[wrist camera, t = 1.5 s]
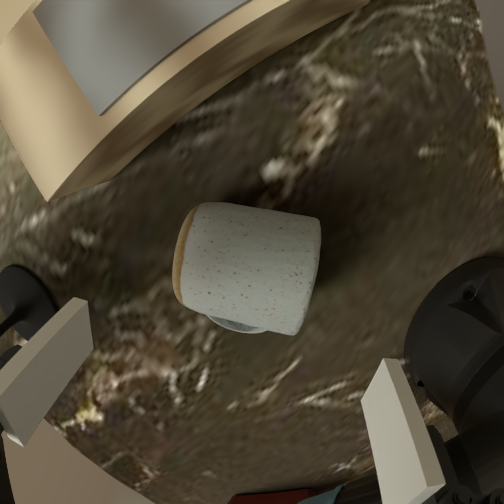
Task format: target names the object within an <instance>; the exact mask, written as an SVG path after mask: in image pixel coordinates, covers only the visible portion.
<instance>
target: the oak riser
mask: <svg viewBox="0 0 504 504" xmlns="http://www.w3.org/2000/svg"><path fill="white" fill-rule="evenodd" d="M369 1H370V0H36V1H35V2H34V3H33V4H32V5H31V6H30V7H29V9H28V10H27V11H26V12H25V13H24V14H23V16H22V17H21V18H20V19H19V21H18V22H17V23H16V24H15V26H14V27H13V28H12V29H11V31H10V32H9V34H8V35H7V36H6V38H5V39H4V40H3V42H2V43H1V44H0V119H1V121H2V123H3V125H4V127H5V129H6V131H7V133H8V135H9V137H10V139H11V141H12V143H13V145H14V147H15V148H16V150H17V152H18V154H19V156H20V158H21V159H22V161H23V163H24V165H25V167H26V168H27V170H28V172H29V173H30V175H31V177H32V179H33V180H34V182H35V184H36V185H37V187H38V189H39V190H40V192H41V193H42V195H43V197H44V198H45V200H46V201H47V202H49V201H51V200H54V199H57V198H60V197H62V196H65V195H68V194H71V193H74V192H77V191H79V190H82V189H85V188H88V187H91V186H94V185H97V184H101V183H104V182H107V181H110V180H111V179H112V178H113V177H114V176H115V175H117V174H118V173H119V172H120V171H121V170H122V169H123V168H124V167H125V166H126V165H127V164H128V163H129V162H130V161H132V160H133V159H134V158H135V157H136V156H137V155H138V154H139V153H140V152H142V151H143V150H144V149H145V148H146V147H147V146H148V145H149V144H151V143H152V142H153V141H154V140H155V139H156V138H158V137H159V136H160V135H161V134H162V133H164V132H165V131H166V130H167V129H168V128H170V127H171V126H172V125H173V124H175V123H176V122H177V121H178V120H180V119H181V118H182V117H183V116H185V115H186V114H187V113H188V112H190V111H191V110H192V109H194V108H195V107H196V106H198V105H199V104H200V103H202V102H203V101H204V100H206V99H207V98H208V97H210V96H211V95H212V94H214V93H215V92H216V91H218V90H219V89H221V88H222V87H224V86H225V85H226V84H228V83H229V82H231V81H232V80H234V79H235V78H237V77H238V76H239V75H241V74H242V73H244V72H245V71H247V70H248V69H250V68H252V67H253V66H255V65H256V64H258V63H259V62H261V61H262V60H264V59H266V58H267V57H269V56H271V55H272V54H274V53H275V52H277V51H279V50H280V49H282V48H284V47H286V46H287V45H289V44H291V43H292V42H294V41H296V40H298V39H299V38H301V37H303V36H305V35H307V34H309V33H310V32H312V31H314V30H316V29H318V28H320V27H322V26H324V25H326V24H328V23H329V22H331V21H333V20H335V19H338V18H340V17H342V16H344V15H346V14H348V13H350V12H352V11H354V10H357V9H359V8H361V7H363V6H365V5H367V4H368V3H369Z"/></svg>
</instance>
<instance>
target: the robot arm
mask: <svg viewBox="0 0 504 504" xmlns="http://www.w3.org/2000/svg"><path fill="white" fill-rule="evenodd" d="M93 349H94V348H93V342H92V335H91V327H90V319H89V310H88V301H86V300H82V299H79V298H76V297H73V298H72V299H71V300H70V301H69V302H68V303H67V304H66V305H65V306H64V307H63V308H62V309H61V310H59V311H58V312H57V313H56V314H55V315H54V316H53V317H52V318H51V319H50V320H49V321H48V322H47V323H46V324H45V325H44V326H43V327H42V328H41V329H40V330H39V331H38V332H37V333H36V334H35V335H34V336H33V337H32V338H31V339H30V340H29V341H28V342H27V343H26V344H25V345H24V346H23V347H22V346H20V345H16V346H14V347H12V348H10V349H8V350H7V351H6V352H5V353H4V354H3V355H2V356H1V357H0V504H15V501H14V498H13V493H12V489H11V484H10V479H9V475H8V469H7V464H6V458H5V451H4V444H3V439H2V436H1V433H2V432H3V430H5V432H6V433H7V435H8V437H9V438H10V439H12V440H13V441H15V442H16V443H18V444H20V445H21V446H23V447H25V445H26V443H27V442H28V440H29V439H30V437H31V436H32V434H33V433H34V431H35V430H36V428H37V427H38V425H39V424H40V422H41V421H42V419H43V418H44V416H45V415H46V414H47V412H48V411H49V409H50V408H51V406H52V405H53V403H54V402H55V401H56V399H57V398H58V396H59V395H60V393H61V392H62V391H63V389H64V388H65V386H66V385H67V384H68V382H69V381H70V380H71V378H72V377H73V375H74V374H75V373H76V371H77V370H78V369H79V367H80V366H81V365H82V363H83V362H84V361H85V359H86V358H87V357H88V355H89V354H90V353H91V351H92V350H93ZM404 359H405V364H406V367H407V369H408V372H409V374H410V376H411V378H412V381H413V383H414V384H415V386H416V387H417V389H418V390H419V391H420V392H421V393H422V394H423V395H425V396H426V397H427V398H428V399H429V400H430V401H431V402H432V403H434V404H435V405H436V406H437V407H438V408H439V409H440V410H442V411H443V412H444V413H445V414H446V415H447V416H448V417H450V418H451V419H452V421H453V423H454V425H455V427H456V429H457V432H458V434H459V435H457V436H455V437H454V438H452V439H450V440H448V441H447V442H445V443H444V441H443V439H442V436H441V434H440V433H439V432H438V431H437V429H436V428H435V427H434V426H433V425H429V426H425V423H424V420H423V418H422V415H421V413H420V410H419V408H418V405H417V403H416V400H415V398H414V395H413V393H412V391H411V388H410V386H409V384H408V381H407V379H406V377H405V374H404V372H403V370H402V367H401V365H400V363H399V361H398V359H388V358H383V360H382V362H381V364H380V366H379V368H378V370H377V372H376V374H375V375H374V377H373V379H372V381H371V383H370V385H369V387H368V389H367V390H366V392H365V394H364V396H363V398H362V399H361V403H362V407H363V412H364V416H365V420H366V424H367V429H368V433H369V438H370V442H371V447H372V452H373V456H374V461H375V466H376V471H377V474H375V475H373V476H370V477H368V478H365V479H362V480H359V481H357V482H354V483H351V484H348V485H347V484H342V485H340V486H337V487H336V488H335V489H334V490H331V491H328V492H326V493H323V494H320V495H317V496H314V497H311V498H308V499H305V500H303V501H300V502H299V503H297V504H504V259H501V258H495V257H486V258H480V259H477V260H474V261H471V262H469V263H466V264H464V265H463V266H461V267H459V268H457V269H456V270H454V271H453V272H452V273H450V274H449V275H448V276H446V277H445V278H444V279H443V280H442V281H441V282H440V283H439V284H438V285H437V286H436V287H435V288H434V289H433V290H432V291H431V292H430V293H429V295H428V296H427V297H426V298H425V300H424V301H423V302H422V304H421V305H420V307H419V309H418V310H417V312H416V314H415V315H414V317H413V319H412V322H411V324H410V326H409V329H408V332H407V335H406V339H405V345H404Z"/></svg>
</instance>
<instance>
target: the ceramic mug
mask: <svg viewBox="0 0 504 504" xmlns="http://www.w3.org/2000/svg"><path fill="white" fill-rule="evenodd" d="M320 245H321V227H320V221H319V220H318V219H317V218H314V217H309V216H303V215H297V214H291V213H286V212H280V211H275V210H269V209H262V208H255V207H249V206H243V205H237V204H232V203H225V202H205V203H200V204H199V205H197V206H195V207H194V208H193V209H192V210H191V211H190V212H189V214H188V215H187V217H186V219H185V221H184V223H183V225H182V227H181V230H180V233H179V237H178V240H177V244H176V248H175V253H174V260H173V269H172V280H173V288H174V292H175V295H176V297H177V299H178V301H179V302H180V303H181V304H183V305H184V306H186V307H188V308H190V309H192V310H195V311H197V312H199V313H203V314H206V315H207V316H208V317H209V318H210V319H211V320H212V321H214V322H215V323H217V324H218V325H221V326H223V327H225V328H227V329H230V330H234V331H237V332H242V333H261V332H264V331H267V330H269V331H274V332H278V333H282V334H287V335H296V334H297V333H298V332H299V330H300V328H301V326H302V324H303V322H304V320H305V317H306V314H307V310H308V307H309V303H310V300H311V295H312V291H313V287H314V283H315V279H316V275H317V270H318V264H319V256H320Z"/></svg>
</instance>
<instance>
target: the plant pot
mask: <svg viewBox="0 0 504 504" xmlns="http://www.w3.org/2000/svg"><path fill="white" fill-rule="evenodd" d="M314 496H316V494H315V493H314V491H313V490H312V489H301V490H294V491H286V492H277V493H267V494H254V495H237V496H233V497H232V498H231V500H230V501H229V502H228V504H297V503H299V502H300V501H303V500H305V499H308V498H311V497H314Z"/></svg>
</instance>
